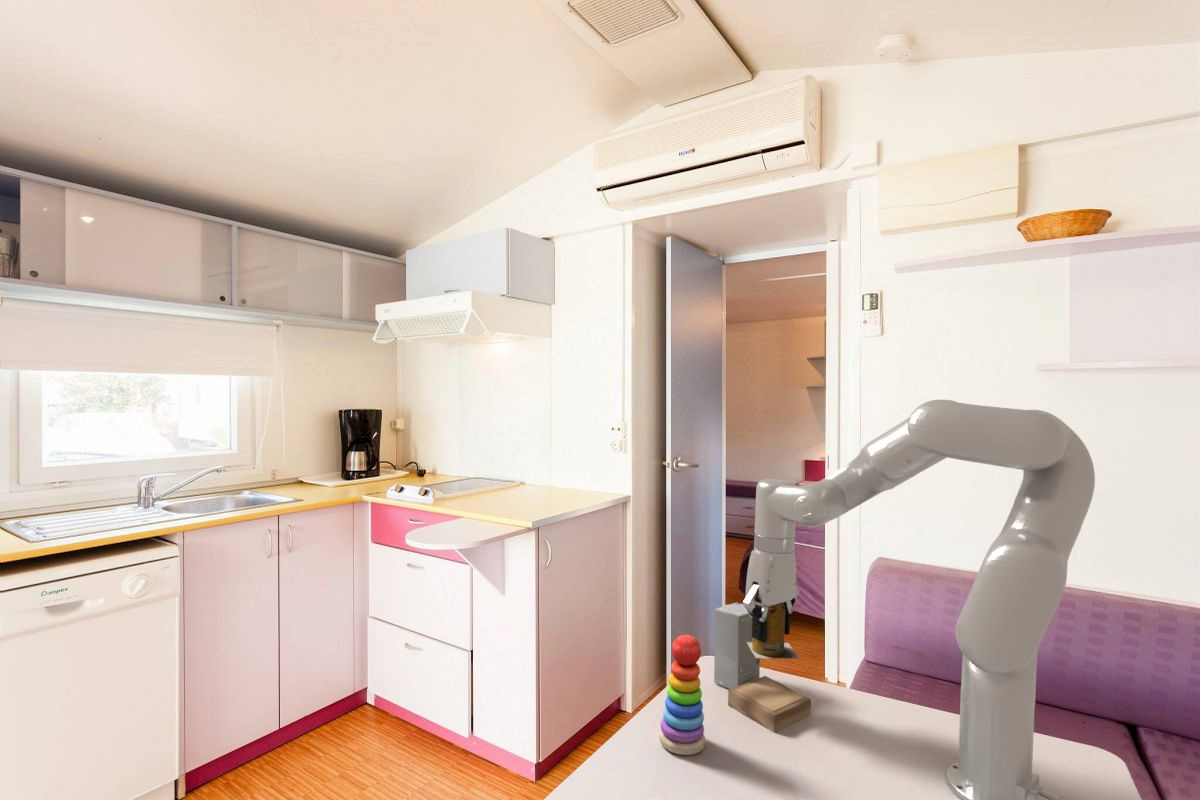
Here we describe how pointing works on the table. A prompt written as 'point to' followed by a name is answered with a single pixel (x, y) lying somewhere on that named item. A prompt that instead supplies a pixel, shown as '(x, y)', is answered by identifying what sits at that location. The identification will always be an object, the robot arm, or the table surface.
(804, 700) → the base
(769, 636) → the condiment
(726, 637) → the skincare box
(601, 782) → the table surface
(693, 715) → the stacking toy
